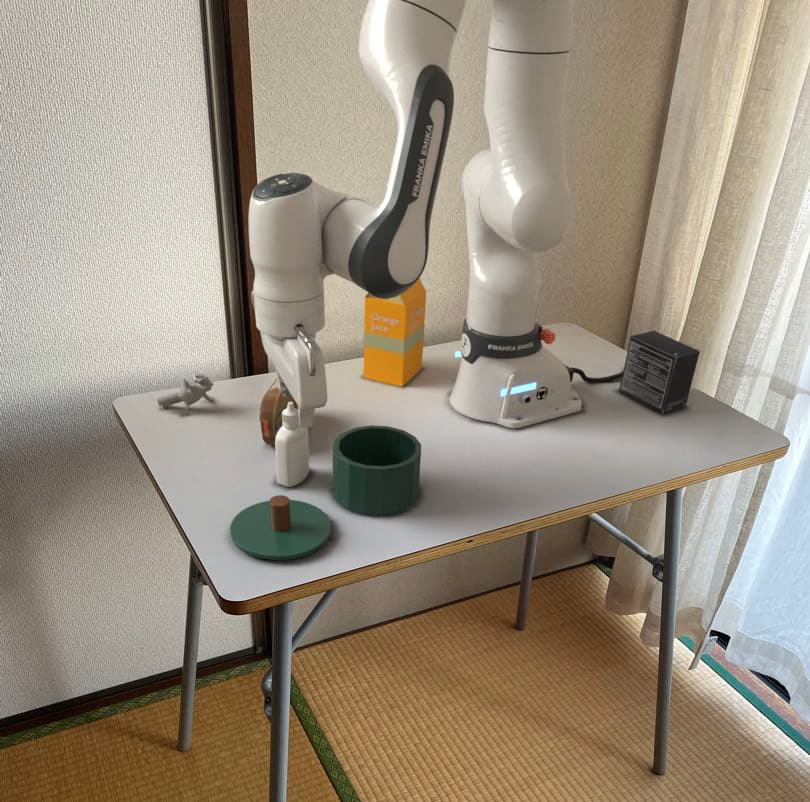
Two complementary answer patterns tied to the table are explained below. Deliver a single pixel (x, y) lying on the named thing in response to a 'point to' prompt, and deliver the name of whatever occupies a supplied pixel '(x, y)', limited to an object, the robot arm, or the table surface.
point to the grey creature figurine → (188, 392)
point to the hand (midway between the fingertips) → (295, 409)
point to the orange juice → (394, 336)
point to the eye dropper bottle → (291, 449)
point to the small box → (658, 371)
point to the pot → (376, 470)
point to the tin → (273, 412)
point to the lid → (280, 529)
